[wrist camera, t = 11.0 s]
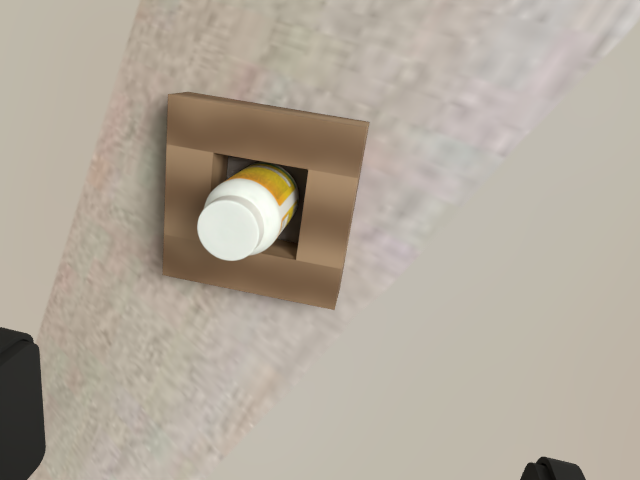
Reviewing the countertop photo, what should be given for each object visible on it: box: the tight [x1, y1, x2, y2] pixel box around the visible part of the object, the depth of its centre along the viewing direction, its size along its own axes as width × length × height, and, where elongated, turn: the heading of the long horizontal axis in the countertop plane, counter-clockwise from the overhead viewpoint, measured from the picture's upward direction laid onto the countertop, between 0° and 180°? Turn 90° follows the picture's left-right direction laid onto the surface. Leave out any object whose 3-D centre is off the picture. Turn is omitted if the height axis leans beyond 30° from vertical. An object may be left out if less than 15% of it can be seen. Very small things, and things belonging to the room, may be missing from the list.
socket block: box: [163, 92, 369, 310], centre depth 37 cm, size 14×14×4 cm
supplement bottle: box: [197, 162, 299, 261], centre depth 34 cm, size 5×5×10 cm
